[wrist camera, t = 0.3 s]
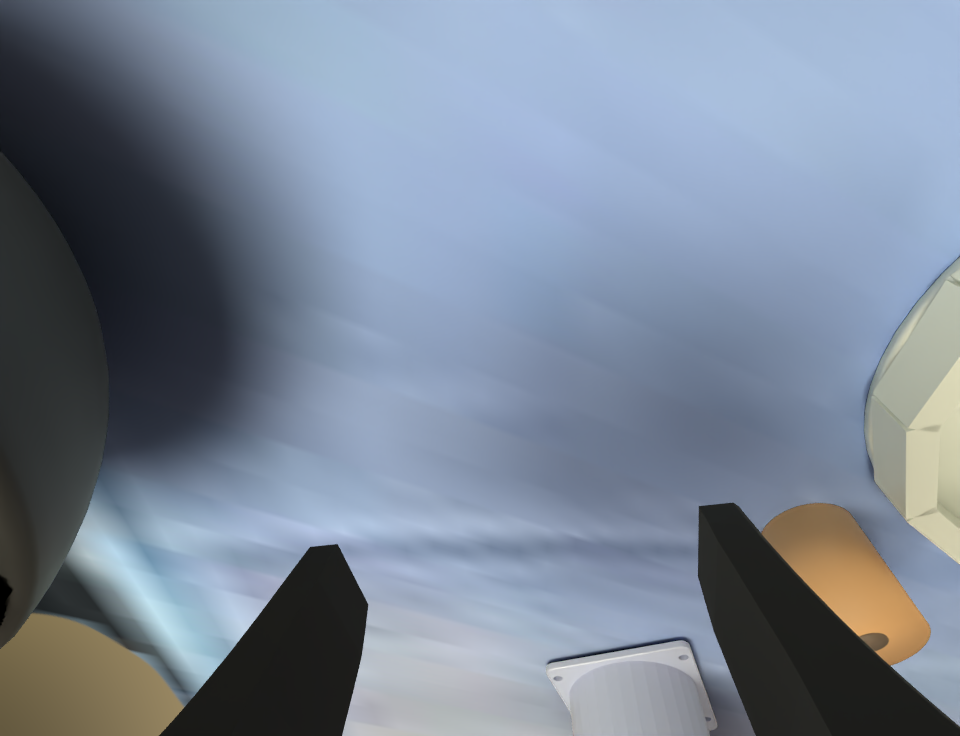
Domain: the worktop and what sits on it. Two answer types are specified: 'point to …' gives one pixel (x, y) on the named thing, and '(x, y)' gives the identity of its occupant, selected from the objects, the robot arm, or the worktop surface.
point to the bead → (849, 577)
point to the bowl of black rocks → (43, 399)
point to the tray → (921, 416)
